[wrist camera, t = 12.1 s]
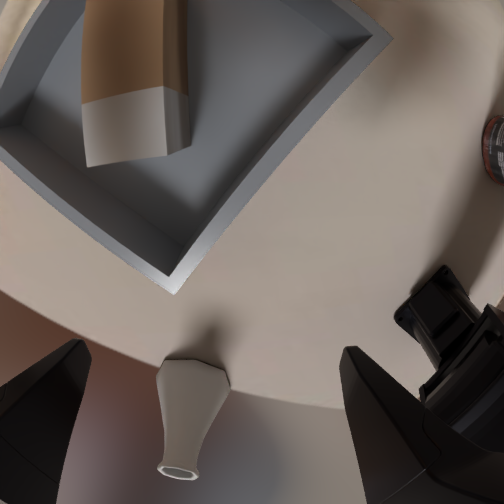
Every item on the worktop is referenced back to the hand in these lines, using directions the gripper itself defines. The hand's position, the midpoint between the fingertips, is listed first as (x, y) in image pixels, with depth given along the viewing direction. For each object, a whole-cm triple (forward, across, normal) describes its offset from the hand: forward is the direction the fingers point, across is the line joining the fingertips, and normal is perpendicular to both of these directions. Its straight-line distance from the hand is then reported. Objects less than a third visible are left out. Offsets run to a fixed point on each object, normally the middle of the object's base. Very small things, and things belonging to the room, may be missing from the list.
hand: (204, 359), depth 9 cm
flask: (+11, +4, +15) cm, 19 cm away
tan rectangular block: (+10, +4, -11) cm, 15 cm away
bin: (+11, +4, -11) cm, 16 cm away
